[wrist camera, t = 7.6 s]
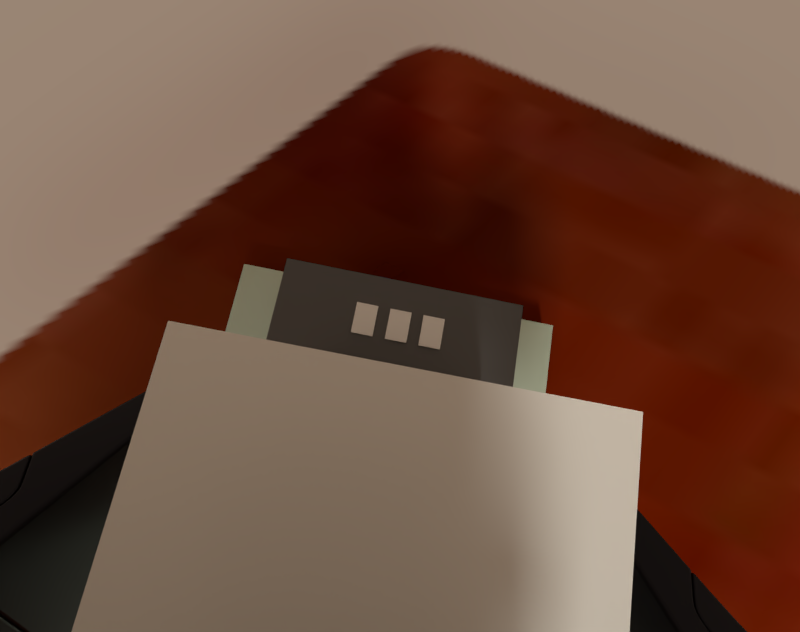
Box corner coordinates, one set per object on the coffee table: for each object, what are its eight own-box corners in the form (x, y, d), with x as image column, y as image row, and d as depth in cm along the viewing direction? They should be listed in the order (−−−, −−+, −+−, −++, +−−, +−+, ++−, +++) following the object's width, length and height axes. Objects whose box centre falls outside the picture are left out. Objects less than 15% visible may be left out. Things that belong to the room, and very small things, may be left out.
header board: (490, 779, 14) (555, 1007, 9) (127, 723, 13) (-21, 931, 8) (542, 328, 17) (612, 308, 12) (252, 270, 17) (198, 224, 12)
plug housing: (434, 511, 14) (612, 912, 4) (287, 485, 14) (10, 825, 3) (454, 387, 15) (643, 412, 5) (316, 361, 15) (168, 320, 4)
